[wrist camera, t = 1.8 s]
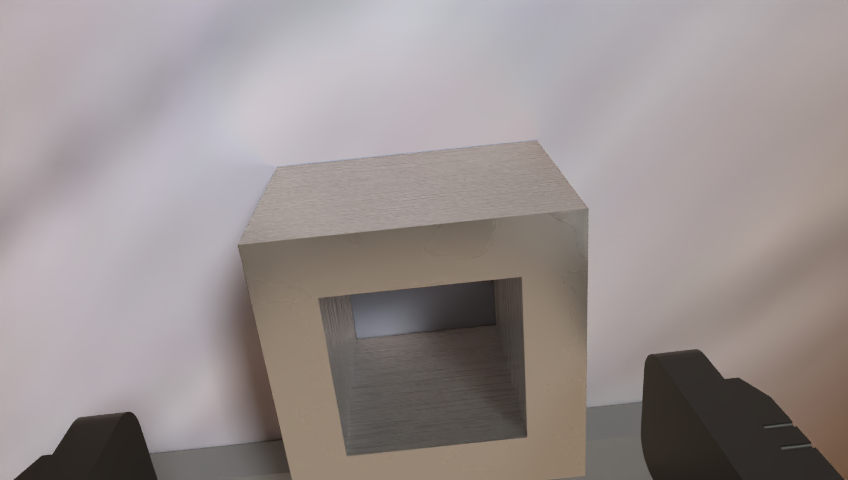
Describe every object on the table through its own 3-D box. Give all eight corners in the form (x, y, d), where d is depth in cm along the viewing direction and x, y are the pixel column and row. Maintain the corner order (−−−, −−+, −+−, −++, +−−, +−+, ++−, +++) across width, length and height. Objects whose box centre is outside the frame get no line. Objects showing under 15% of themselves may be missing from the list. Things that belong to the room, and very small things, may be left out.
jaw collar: (537, 140, 14) (588, 208, 10) (542, 357, 16) (585, 475, 13) (277, 167, 14) (237, 245, 10) (318, 381, 16) (297, 506, 13)
